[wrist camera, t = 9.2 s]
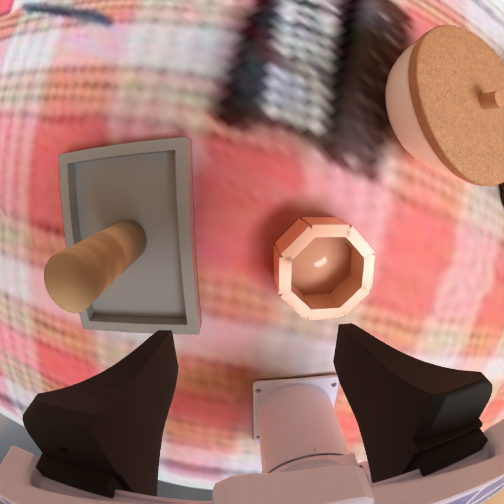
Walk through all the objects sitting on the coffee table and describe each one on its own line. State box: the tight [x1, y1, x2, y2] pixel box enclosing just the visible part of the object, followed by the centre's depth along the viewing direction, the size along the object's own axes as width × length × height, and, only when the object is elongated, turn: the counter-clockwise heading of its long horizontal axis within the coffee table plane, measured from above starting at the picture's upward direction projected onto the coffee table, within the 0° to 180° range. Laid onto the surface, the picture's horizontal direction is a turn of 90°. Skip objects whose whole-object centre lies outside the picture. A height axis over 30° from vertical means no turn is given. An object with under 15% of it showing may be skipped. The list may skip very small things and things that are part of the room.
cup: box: [274, 217, 375, 320], centre depth 21 cm, size 7×7×3 cm
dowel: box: [44, 220, 147, 313], centre depth 16 cm, size 3×3×9 cm
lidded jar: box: [385, 25, 504, 186], centre depth 15 cm, size 11×11×9 cm
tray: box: [59, 137, 202, 334], centre depth 20 cm, size 14×10×2 cm
